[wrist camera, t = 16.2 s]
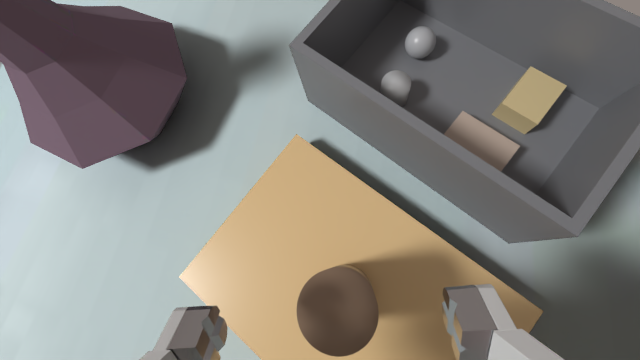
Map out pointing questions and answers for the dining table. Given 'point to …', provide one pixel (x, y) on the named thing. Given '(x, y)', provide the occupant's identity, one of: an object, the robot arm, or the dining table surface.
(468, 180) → the tub
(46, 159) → the dining table surface
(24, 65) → the flask
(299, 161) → the lid
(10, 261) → the dining table surface
